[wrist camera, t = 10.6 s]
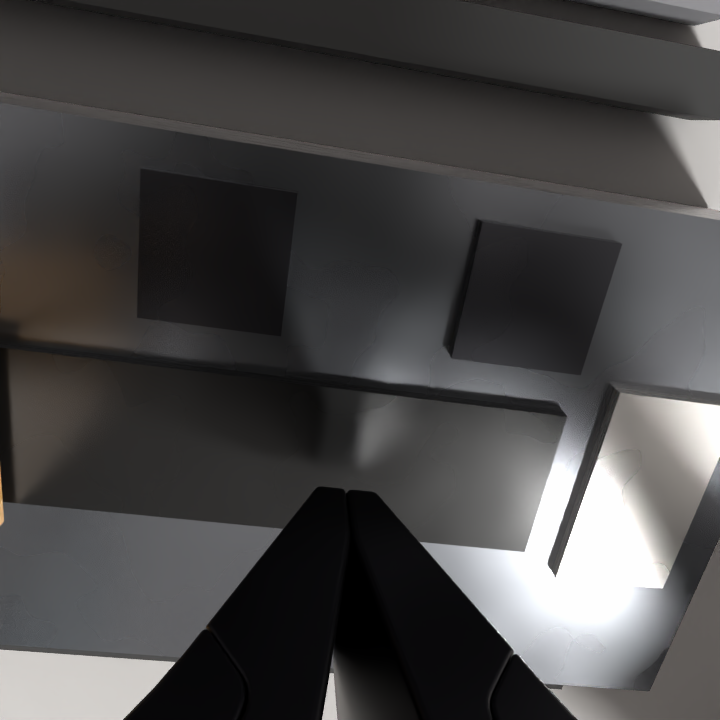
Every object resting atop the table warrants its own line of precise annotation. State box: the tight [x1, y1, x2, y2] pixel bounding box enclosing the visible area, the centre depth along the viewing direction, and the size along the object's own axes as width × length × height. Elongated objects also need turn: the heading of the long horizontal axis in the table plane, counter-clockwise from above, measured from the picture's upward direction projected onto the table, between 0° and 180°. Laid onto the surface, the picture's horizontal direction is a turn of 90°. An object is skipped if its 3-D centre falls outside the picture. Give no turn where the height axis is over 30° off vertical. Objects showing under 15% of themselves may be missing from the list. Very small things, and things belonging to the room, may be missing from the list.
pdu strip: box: [0, 92, 720, 691], centre depth 11 cm, size 9×18×4 cm, turn 81°
